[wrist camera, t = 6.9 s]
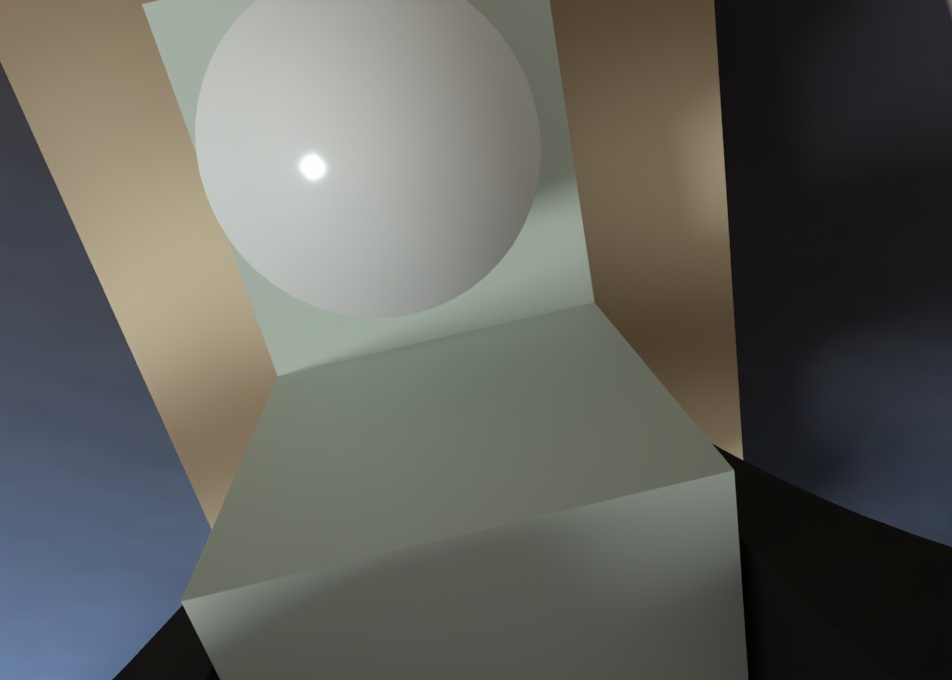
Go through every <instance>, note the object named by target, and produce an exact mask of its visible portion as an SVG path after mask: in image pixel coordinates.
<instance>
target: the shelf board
mask: <svg viewBox="0 0 952 680" xmlns="http://www.w3.org/2000/svg"><path fill="white" fill-rule="evenodd" d="M154 1H158V0H0V61H1V63H2V66H3V68H4V70H5V72H6V74H7V77H8V79H9V81H10V83H11V85H12V88H13V90H14V92H15V94H16V97H17V99H18V101H19V103H20V105H21V108H22V110H23V112H24V114H25V116H26V119H27V121H28V123H29V125H30V128H31V130H32V132H33V134H34V136H35V139H36V141H37V143H38V145H39V148H40V150H41V152H42V154H43V156H44V159H45V161H46V163H47V165H48V167H49V170H50V172H51V174H52V176H53V179H54V181H55V183H56V185H57V187H58V190H59V192H60V194H61V196H62V199H63V201H64V203H65V205H66V207H67V210H68V212H69V214H70V216H71V218H72V221H73V223H74V225H75V227H76V230H77V232H78V234H79V236H80V238H81V241H82V243H83V245H84V247H85V249H86V252H87V254H88V256H89V258H90V261H91V263H92V265H93V267H94V269H95V272H96V274H97V276H98V278H99V281H100V283H101V285H102V287H103V289H104V292H105V294H106V296H107V298H108V300H109V303H110V305H111V307H112V309H113V312H114V314H115V316H116V318H117V320H118V323H119V325H120V327H121V329H122V331H123V334H124V336H125V338H126V340H127V343H128V345H129V347H130V349H131V351H132V354H133V356H134V358H135V360H136V363H137V365H138V367H139V369H140V371H141V374H142V376H143V378H144V380H145V382H146V385H147V387H148V389H149V391H150V394H151V396H152V398H153V400H154V402H155V405H156V407H157V409H158V411H159V414H160V416H161V418H162V420H163V422H164V425H165V427H166V429H167V431H168V433H169V436H170V438H171V440H172V442H173V445H174V447H175V449H176V451H177V453H178V456H179V458H180V460H181V462H182V464H183V467H184V469H185V471H186V473H187V476H188V478H189V480H190V482H191V484H192V487H193V489H194V491H195V493H196V496H197V498H198V500H199V502H200V504H201V507H202V509H203V511H204V513H205V515H206V518H207V520H208V522H209V524H210V527H211V529H212V528H213V526H214V523H215V521H216V519H217V516H218V514H219V512H220V509H221V507H222V505H223V503H224V500H225V498H226V496H227V493H228V491H229V489H230V486H231V484H232V482H233V479H234V477H235V475H236V472H237V470H238V468H239V465H240V463H241V461H242V458H243V456H244V454H245V451H246V449H247V447H248V444H249V442H250V440H251V437H252V435H253V433H254V430H255V428H256V426H257V423H258V421H259V419H260V416H261V414H262V412H263V409H264V407H265V405H266V402H267V400H268V398H269V395H270V393H271V391H272V388H273V386H274V384H275V381H276V379H277V377H278V376H277V373H276V370H275V368H274V365H273V362H272V359H271V357H270V354H269V351H268V348H267V346H266V343H265V340H264V337H263V335H262V332H261V329H260V327H259V324H258V321H257V318H256V316H255V313H254V310H253V307H252V305H251V302H250V299H249V296H248V294H247V291H246V288H245V285H244V283H243V280H242V277H241V274H240V272H239V269H238V266H237V263H236V261H235V258H234V255H233V253H232V250H231V247H230V244H229V242H228V239H227V236H226V234H225V232H224V230H223V229H222V227H221V225H220V224H219V222H218V220H217V219H216V217H215V215H214V212H213V210H212V208H211V205H210V203H209V201H208V199H207V196H206V193H205V190H204V186H203V183H202V180H201V176H200V172H199V166H198V160H197V154H196V151H195V148H194V146H193V143H192V140H191V137H190V135H189V132H188V129H187V126H186V124H185V121H184V118H183V116H182V113H181V110H180V107H179V105H178V102H177V99H176V96H175V94H174V91H173V88H172V85H171V83H170V80H169V77H168V74H167V72H166V69H165V66H164V63H163V61H162V58H161V55H160V52H159V50H158V47H157V44H156V42H155V39H154V36H153V33H152V31H151V28H150V25H149V22H148V20H147V17H146V14H145V11H144V9H143V6H142V4H145V3H149V2H154ZM550 6H551V13H552V20H553V27H554V33H555V40H556V47H557V53H558V60H559V67H560V74H561V80H562V87H563V94H564V101H565V107H566V114H567V121H568V127H569V134H570V141H571V148H572V154H573V161H574V168H575V175H576V181H577V188H578V195H579V201H580V208H581V215H582V222H583V228H584V235H585V242H586V248H587V255H588V262H589V269H590V275H591V282H592V289H593V296H594V302H595V304H596V305H597V306H598V307H599V308H600V310H601V311H602V312H603V313H604V314H605V316H606V317H607V318H608V319H609V320H610V322H611V323H612V324H613V325H614V326H615V328H616V329H617V330H618V331H619V332H620V334H621V335H622V336H623V337H624V338H625V340H626V341H627V342H628V343H629V344H630V346H631V347H632V348H633V349H634V350H635V352H636V353H637V354H638V355H639V356H640V358H641V359H642V360H643V361H644V362H645V364H646V365H647V366H648V367H649V368H650V370H651V371H652V372H653V373H654V375H655V376H656V377H657V378H658V379H659V381H660V382H661V383H662V384H663V385H664V387H665V388H666V389H667V390H668V391H669V393H670V394H671V395H672V396H673V397H674V399H675V400H676V401H677V402H678V403H679V405H680V406H681V407H682V408H683V409H684V411H685V412H686V413H687V414H688V415H689V417H690V418H691V419H692V420H693V421H694V423H695V424H696V425H697V426H698V427H699V429H700V430H701V431H702V432H703V433H704V435H705V436H706V437H707V438H708V439H709V441H710V442H711V443H712V444H714V445H716V446H718V447H719V448H721V449H723V450H725V451H727V452H729V453H731V454H732V455H734V456H736V457H738V458H740V459H742V460H743V448H742V433H741V417H740V401H739V385H738V370H737V354H736V338H735V322H734V307H733V291H732V275H731V259H730V244H729V228H728V212H727V196H726V180H725V165H724V149H723V133H722V117H721V102H720V86H719V70H718V54H717V39H716V23H715V7H714V0H550Z"/></svg>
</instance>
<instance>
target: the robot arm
mask: <svg viewBox="0 0 952 680" xmlns="http://www.w3.org/2000/svg"><path fill="white" fill-rule="evenodd" d="M713 445H714V444H713ZM714 447H715V448H716V449H717V450H718V451H719V453H720V454H721V455H722V456H723V457H724V459H725V460H726V461H727V462H728V464H729V465H730V466H731V467H732V468H733V470H734V475H735V490H736V505H737V519H738V534H739V549H740V563H741V578H742V593H743V607H744V622H745V637H746V651H747V666H748V680H952V547H949V546H946V545H943V544H940V543H937V542H934V541H931V540H928V539H925V538H922V537H919V536H917V535H914V534H911V533H908V532H906V531H903V530H900V529H898V528H895V527H892V526H890V525H887V524H884V523H882V522H879V521H876V520H874V519H871V518H868V517H865V516H863V515H860V514H858V513H855V512H853V511H850V510H848V509H846V508H843V507H841V506H838V505H836V504H834V503H831V502H829V501H827V500H825V499H822V498H820V497H818V496H816V495H814V494H811V493H809V492H807V491H805V490H803V489H800V488H798V487H796V486H794V485H792V484H789V483H787V482H785V481H783V480H781V479H779V478H777V477H775V476H773V475H771V474H769V473H767V472H765V471H763V470H761V469H759V468H757V467H755V466H753V465H751V464H749V463H747V462H746V461H744V460H742V459H740V458H738V457H736V456H734V455H732V454H731V453H729V452H727V451H725V450H723V449H721V448H719V447H718V446H716V445H714ZM113 680H220V678H219V676H218V674H217V672H216V670H215V668H214V666H213V664H212V662H211V660H210V658H209V656H208V654H207V652H206V650H205V648H204V646H203V644H202V642H201V640H200V638H199V636H198V634H197V632H196V630H195V628H194V626H193V624H192V622H191V620H190V618H189V616H188V614H187V612H186V610H185V608H184V606H183V605H182V606H181V607H180V608H179V610H178V611H177V612H176V613H175V614H174V615H173V616H172V617H171V618H170V619H169V620H168V621H167V623H166V624H165V625H164V626H163V627H162V628H161V629H160V630H159V631H158V632H157V633H156V634H155V635H154V637H153V638H152V639H151V640H150V641H149V642H148V643H147V644H146V645H145V646H144V647H143V648H142V649H141V651H140V652H139V653H138V654H137V655H136V656H135V657H134V658H133V659H132V660H131V661H130V662H129V663H128V664H127V665H126V666H125V667H124V668H123V669H122V671H121V672H120V673H119V674H118V675H117V676H116V677H115V678H114V679H113Z"/></svg>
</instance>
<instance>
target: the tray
mask: <svg viewBox="0 0 952 680" xmlns="http://www.w3.org/2000/svg"><path fill="white" fill-rule="evenodd" d="M142 6H143V9H144V11H145V14H146V17H147V20H148V22H149V25H150V28H151V31H152V33H153V36H154V39H155V42H156V44H157V47H158V50H159V52H160V55H161V58H162V61H163V63H164V66H165V69H166V72H167V74H168V77H169V80H170V83H171V85H172V88H173V91H174V94H175V96H176V99H177V102H178V105H179V107H180V110H181V113H182V116H183V118H184V121H185V124H186V126H187V129H188V132H189V135H190V137H191V140H192V143H193V146H194V148H195V151H196V154H197V160H198V166H199V172H200V176H201V180H202V183H203V186H204V190H205V193H206V196H207V199H208V201H209V203H210V205H211V208H212V210H213V212H214V215H215V217H216V219H217V220H218V222H219V224H220V225H221V227H222V229H223V230H224V232H225V234H226V236H227V239H228V242H229V244H230V247H231V250H232V253H233V255H234V258H235V261H236V263H237V266H238V269H239V272H240V274H241V277H242V280H243V283H244V285H245V288H246V291H247V294H248V296H249V299H250V302H251V305H252V307H253V310H254V313H255V316H256V318H257V321H258V324H259V327H260V329H261V332H262V335H263V337H264V340H265V343H266V346H267V348H268V351H269V354H270V357H271V359H272V362H273V365H274V368H275V370H276V373H277V376H278V377H277V379H276V381H275V384H274V386H273V388H272V391H271V393H270V395H269V398H268V400H267V402H266V405H265V407H264V409H263V412H262V414H261V416H260V419H259V421H258V423H257V426H256V428H255V430H254V433H253V435H252V437H251V440H250V442H249V444H248V447H247V449H246V451H245V454H244V456H243V458H242V461H241V463H240V465H239V468H238V470H237V472H236V475H235V477H234V479H233V482H232V484H231V486H230V489H229V491H228V493H227V496H226V498H225V500H224V503H223V505H222V507H221V509H220V512H219V514H218V516H217V519H216V521H215V523H214V526H213V528H212V530H211V533H210V535H209V537H208V540H207V542H206V544H205V547H204V549H203V551H202V554H201V556H200V558H199V561H198V563H197V565H196V568H195V570H194V572H193V575H192V577H191V579H190V582H189V584H188V586H187V589H186V591H185V593H184V596H183V598H182V600H181V603H182V605H183V606H184V608H185V610H186V612H187V614H188V616H189V618H190V620H191V622H192V624H193V626H194V628H195V630H196V632H197V634H198V636H199V638H200V640H201V642H202V644H203V646H204V648H205V650H206V652H207V654H208V656H209V658H210V660H211V662H212V664H213V666H214V668H215V670H216V672H217V674H218V676H219V678H220V680H748V666H747V651H746V637H745V622H744V607H743V593H742V578H741V563H740V549H739V534H738V519H737V505H736V490H735V475H734V470H733V468H732V467H731V466H730V465H729V464H728V462H727V461H726V460H725V459H724V457H723V456H722V455H721V454H720V453H719V451H718V450H717V449H716V448H715V447H714V445H713V444H712V443H711V442H710V441H709V439H708V438H707V437H706V436H705V435H704V433H703V432H702V431H701V430H700V429H699V427H698V426H697V425H696V424H695V423H694V421H693V420H692V419H691V418H690V417H689V415H688V414H687V413H686V412H685V411H684V409H683V408H682V407H681V406H680V405H679V403H678V402H677V401H676V400H675V399H674V397H673V396H672V395H671V394H670V393H669V391H668V390H667V389H666V388H665V387H664V385H663V384H662V383H661V382H660V381H659V379H658V378H657V377H656V376H655V375H654V373H653V372H652V371H651V370H650V368H649V367H648V366H647V365H646V364H645V362H644V361H643V360H642V359H641V358H640V356H639V355H638V354H637V353H636V352H635V350H634V349H633V348H632V347H631V346H630V344H629V343H628V342H627V341H626V340H625V338H624V337H623V336H622V335H621V334H620V332H619V331H618V330H617V329H616V328H615V326H614V325H613V324H612V323H611V322H610V320H609V319H608V318H607V317H606V316H605V314H604V313H603V312H602V311H601V310H600V308H599V307H598V306H597V305H596V304H595V302H594V296H593V289H592V282H591V275H590V269H589V262H588V255H587V248H586V242H585V235H584V228H583V222H582V215H581V208H580V201H579V195H578V188H577V181H576V175H575V168H574V161H573V154H572V148H571V141H570V134H569V127H568V121H567V114H566V107H565V101H564V94H563V87H562V80H561V74H560V67H559V60H558V53H557V47H556V40H555V33H554V27H553V20H552V13H551V6H550V0H158V1H154V2H149V3H145V4H142Z"/></svg>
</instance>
